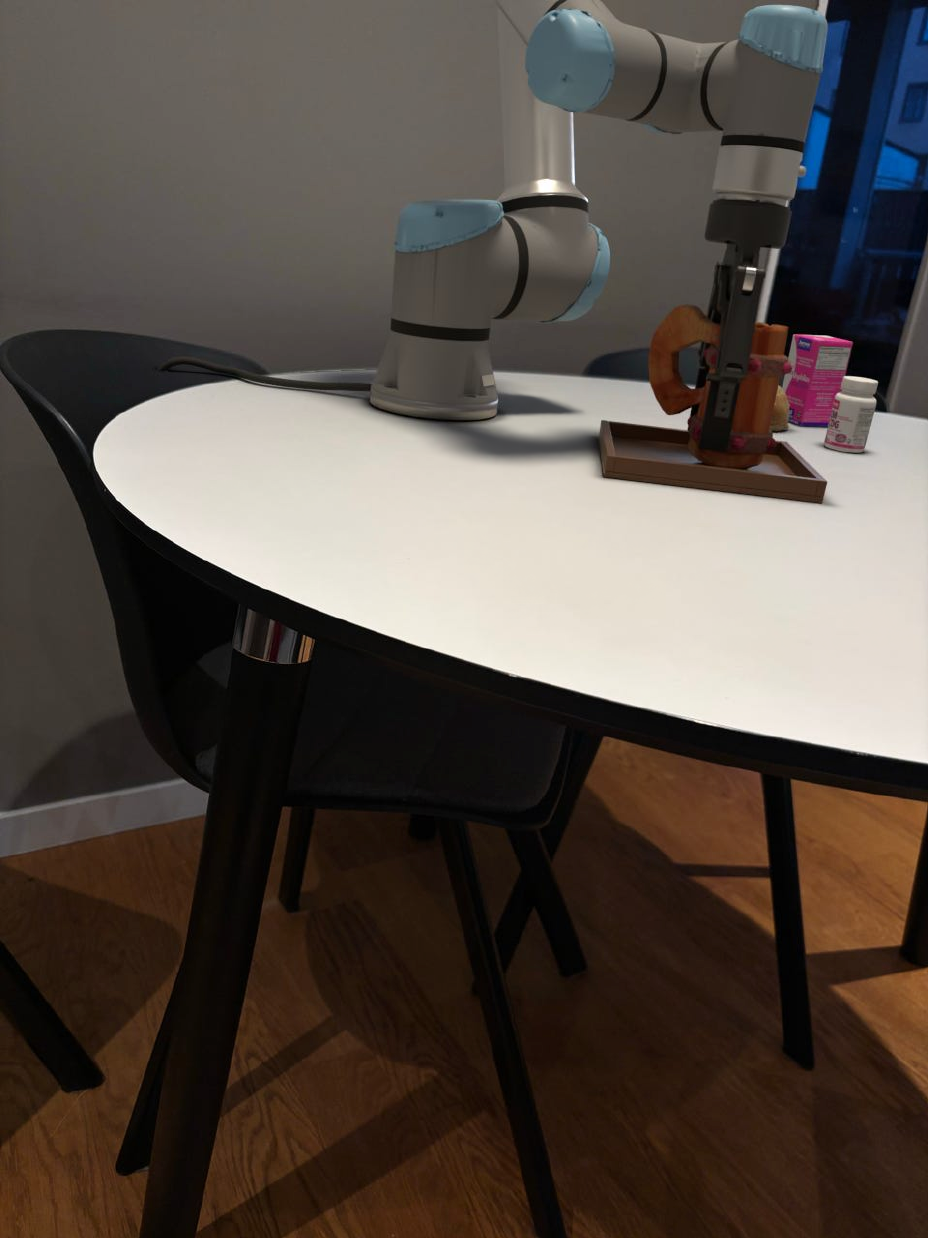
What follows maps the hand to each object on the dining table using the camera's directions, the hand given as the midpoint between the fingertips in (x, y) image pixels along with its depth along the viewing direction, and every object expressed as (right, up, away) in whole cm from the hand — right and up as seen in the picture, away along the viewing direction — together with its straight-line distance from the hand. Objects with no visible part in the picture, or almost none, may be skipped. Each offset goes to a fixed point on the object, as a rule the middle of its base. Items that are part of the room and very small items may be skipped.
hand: (706, 440), depth 100 cm
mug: (0, -2, +2) cm, 3 cm away
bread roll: (+13, +7, +29) cm, 33 cm away
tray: (0, -3, +1) cm, 3 cm away
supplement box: (+22, +9, +35) cm, 43 cm away
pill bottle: (+22, +2, +19) cm, 29 cm away
